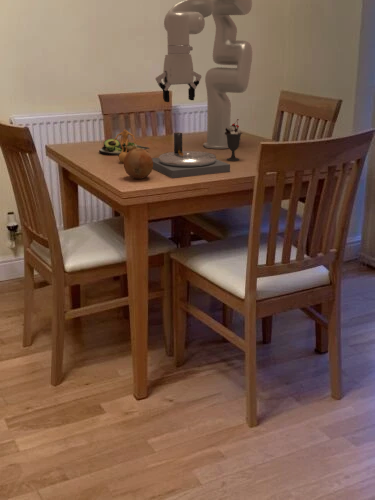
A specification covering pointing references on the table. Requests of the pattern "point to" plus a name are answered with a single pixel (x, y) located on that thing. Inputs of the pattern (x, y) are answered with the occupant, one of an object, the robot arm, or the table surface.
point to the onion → (138, 163)
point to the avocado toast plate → (117, 147)
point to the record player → (185, 156)
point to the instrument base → (190, 169)
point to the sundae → (233, 140)
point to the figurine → (125, 136)
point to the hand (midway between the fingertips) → (179, 100)
